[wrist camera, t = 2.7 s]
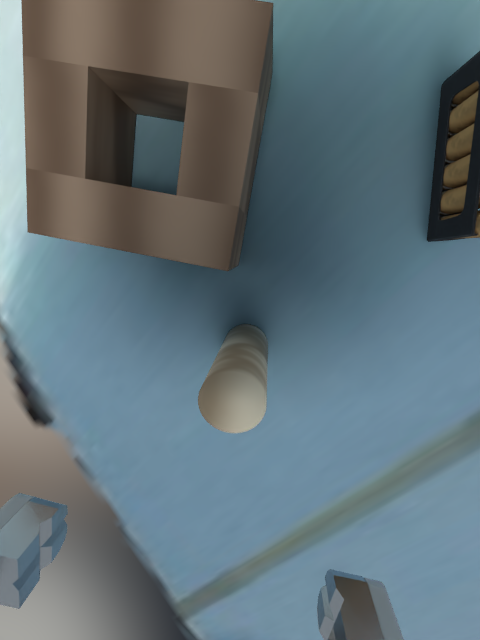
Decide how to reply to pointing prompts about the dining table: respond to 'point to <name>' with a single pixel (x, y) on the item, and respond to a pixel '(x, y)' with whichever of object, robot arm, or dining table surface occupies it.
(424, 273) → the dining table surface
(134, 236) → the socket block
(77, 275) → the dining table surface
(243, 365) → the peg
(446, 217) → the ammunition clip
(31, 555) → the robot arm
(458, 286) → the dining table surface
